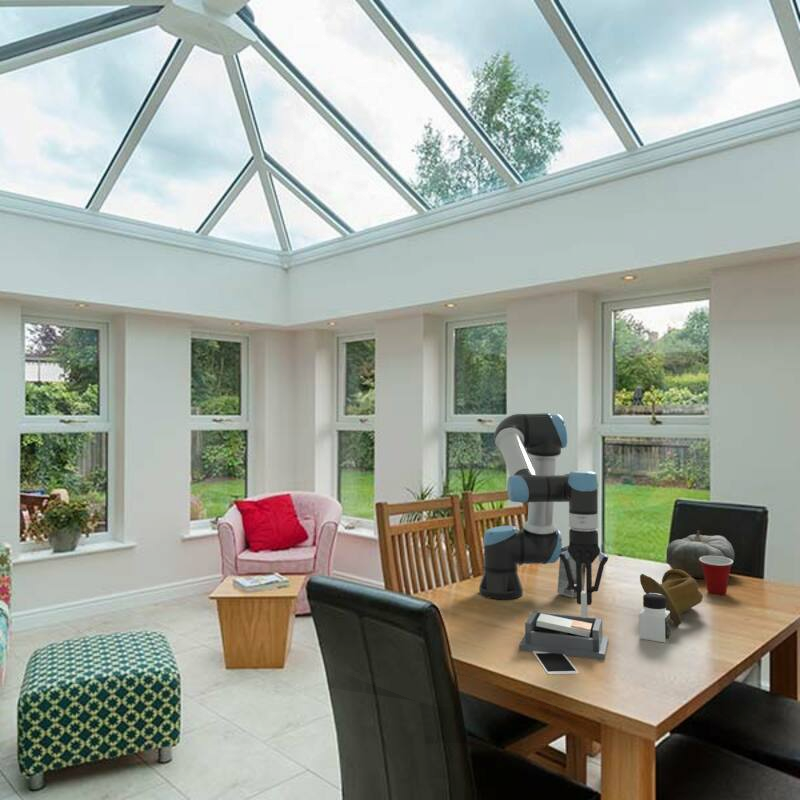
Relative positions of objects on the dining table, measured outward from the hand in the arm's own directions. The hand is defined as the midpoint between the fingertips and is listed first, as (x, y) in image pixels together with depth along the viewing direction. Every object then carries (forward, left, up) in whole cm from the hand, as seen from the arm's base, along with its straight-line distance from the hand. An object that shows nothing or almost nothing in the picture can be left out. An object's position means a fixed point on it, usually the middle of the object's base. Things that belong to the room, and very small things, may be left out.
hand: (584, 616), depth 180 cm
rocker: (-5, 0, -4) cm, 7 cm away
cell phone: (-6, -13, -9) cm, 17 cm away
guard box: (-5, 0, -9) cm, 10 cm away
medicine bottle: (+18, +16, -9) cm, 25 cm away
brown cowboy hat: (+22, +38, -9) cm, 45 cm away
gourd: (+34, +101, -9) cm, 107 cm away
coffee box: (-10, +55, -8) cm, 56 cm away
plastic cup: (+38, +73, -9) cm, 82 cm away
